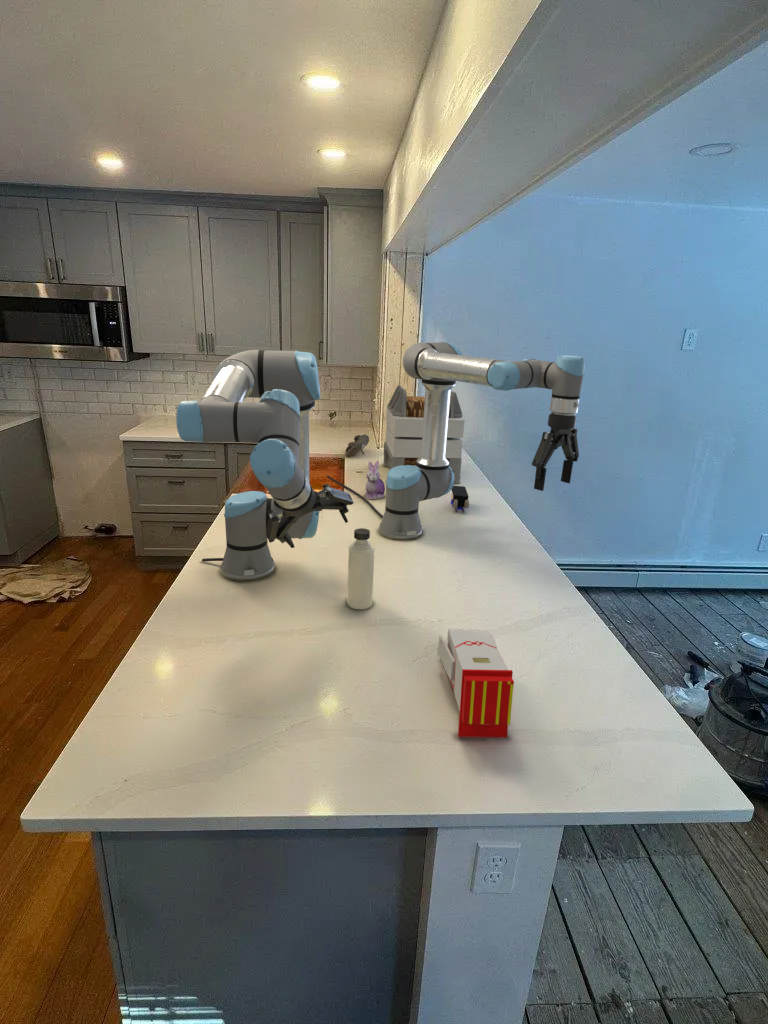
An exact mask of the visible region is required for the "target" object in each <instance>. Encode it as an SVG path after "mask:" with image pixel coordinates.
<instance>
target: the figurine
mask: <svg viewBox="0 0 768 1024" xmlns="http://www.w3.org/2000/svg"><path fill="white" fill-rule="evenodd" d="M367 465H368V471H367V473H366V478H367V482H366V484H365V491H366V492H365V496H364V497H366V498H365V499H367V500H377V499H378V500H379V499H382V498H384V497H385V493H386V485H385V483H384V481H383V480H382V479H381V473H380V471H379V466H380V461H379V460H377V461H376V462H375V463H374V464H373V462H372V461H368V464H367Z"/></svg>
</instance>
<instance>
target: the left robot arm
mask: <svg viewBox="0 0 768 1024" xmlns="http://www.w3.org/2000/svg"><path fill="white" fill-rule="evenodd" d="M320 385H321V384H320V376H319V369H318V363H317V358H316V355H314V354H313V353H312V352H308V351H298V350H274V349H273V350H269V349H268V350H267V349H263V350H262V349H249V350H245V351H241V352H238V353H235V354H232V355H230V356H228V357H227V358H225V359H223V360H222V361H221V362H220V363H218V365H217V366H216V367H215V369H214V370H213V373H212V381H211V383H210V384H209V385H208V387H207V389H206V390H205V391H204V393H203V395H202V396H201V398H200V399H199V400H196V399H192V400H183V401H180V402H179V403H178V404H177V407H176V415H175V419H176V421H175V422H176V423H175V424H176V430H177V434H178V436H179V438H180V439H181V440H182V441H184V442H192V443H193V442H194V443H198V444H203V443H225V444H226V443H229V444H230V443H231V444H232V443H233V444H234V443H235V444H236V443H237V444H239V443H241V444H256V445H255V446H254V448H253V450H251V451H252V452H251V453H250V456H249V464H250V465H249V466H250V468H251V471H253V474H254V476H255V478H256V479H257V481H258V482H259V483H260V484H261V485H262V486H263V487H264V488H265V489H266V491H267V493H268V494H270V497H268V496H267V494H266V492H264V491H259V490H251V491H243V492H239V493H235V494H233V495H231V496H229V497H228V498H227V499H226V501H225V502H224V514H223V516H224V524H225V525H224V526H225V542H226V548H225V551H224V555H223V557H211V558H210V557H209V558H207V557H206V558H202V559H201V561H202V562H221V566H220V568H221V569H220V570H221V574H222V575H223V577H225V578H227V579H229V580H232V581H237V582H238V581H239V582H250V581H251V582H252V581H257V580H261V579H264V578H267V577H268V576H269V577H270V575H272V574H273V573H274V571H275V561H274V558H273V556H272V554H271V551H270V547H269V545H268V542H269V543H273V542H275V541H276V540H278V542H280V543H281V544H284V543H286V544H287V545H288V546H289V547H290V548H291V549H294V548H295V547H296V546H295V544H294V541H293V540H292V539H299V540H302V539H312V538H314V537H315V536H316V534H317V531H318V526H319V519H320V512H322V511H323V510H329V511H331V510H334V511H335V510H338V512H339V514H340V515H341V517H342V519H343V521H344V523H345V524H346V523H348V522H349V520H348V517H347V516H346V514H347V513H349V511H350V510H349V508H348V506H351V505H353V504H354V503H355V502H354V500H353V498H352V495H351V494H350V492H346V491H344V490H340V489H337V488H334V487H331V486H330V485H329V484H328V483H325V484H323V485H322V489H321V490H320V491H316V490H314V489H313V486H312V485H311V483H310V412H311V411H312V409H314V408H315V405H316V401H319V400H320V399H321V387H320ZM247 398H254V399H256V398H257V399H260V400H259V401H257V402H252V401H251V402H250V401H244V400H245V399H247Z"/></svg>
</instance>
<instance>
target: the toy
mask: <svg viewBox="0 0 768 1024" xmlns="http://www.w3.org/2000/svg"><path fill="white" fill-rule="evenodd" d="M446 640H447V643H446V641H445V639H444V636H443V635H442V634H439V637H438V646H437V656H438V657H439V659H440V661H441V663H442V666H443V668H444V670H445V672H446V674H447V677H448V679H449V681H450V684H451V687H452V690H453V693H454V697H455V701H456V705H457V708H458V711H459V714H458V715H459V716H458V730H457V731H458V732H457V737H458V738H508V731H509V726H510V725H511V717H512V707H513V697H514V696H513V695H514V684H515V680H514V679H513V673H514V671H513V670H512V669H508V667H507V665H506V662H505V661H504V659H503V658H502V655H501V653H500V651H499V649H498V647H497V643H496V639H495V637H494V635H493V634H491V632H490V631H489V629H467V628H466V629H465V628H463V629H461V628H460V629H459V628H448V630H447V639H446Z"/></svg>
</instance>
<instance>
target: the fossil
mask: <svg viewBox="0 0 768 1024" xmlns="http://www.w3.org/2000/svg"><path fill="white" fill-rule="evenodd" d="M353 440H354V441H350V442H348V444H347V445H348V446H347V447H346V449H345V453H344V455H345V457H346V458H352V457H355V456H356V455H358V454H359V453H361V452H362V454H363V455H364V454H365V453H364V451H363V450H364V449H365V447H367V446H368V444H369V443H370V436H369V435H368V434H365V433H364V434H362V435H361V434H357V435H355V436H354V437H353Z"/></svg>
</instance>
